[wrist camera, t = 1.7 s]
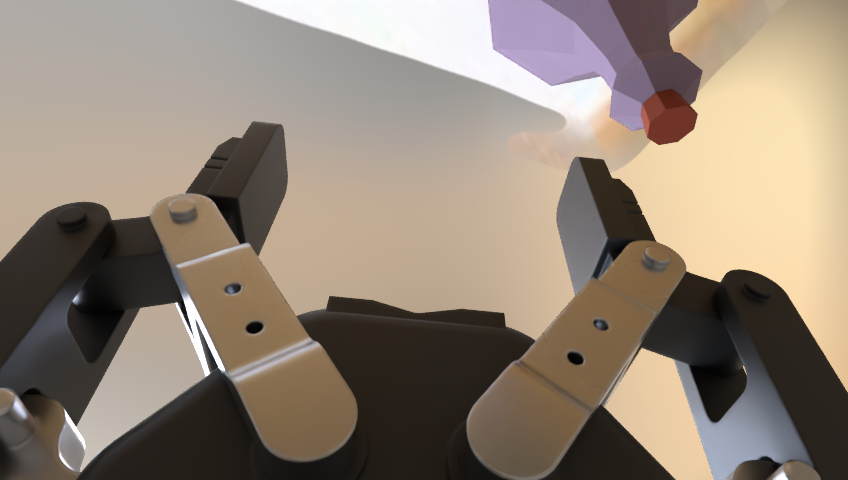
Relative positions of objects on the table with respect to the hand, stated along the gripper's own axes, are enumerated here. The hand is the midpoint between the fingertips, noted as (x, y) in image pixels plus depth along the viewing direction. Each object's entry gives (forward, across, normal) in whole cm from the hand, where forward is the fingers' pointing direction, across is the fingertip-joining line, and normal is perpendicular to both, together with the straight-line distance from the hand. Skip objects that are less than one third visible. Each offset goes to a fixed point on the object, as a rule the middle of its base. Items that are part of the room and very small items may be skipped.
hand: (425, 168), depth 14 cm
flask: (+32, -11, 0) cm, 34 cm away
